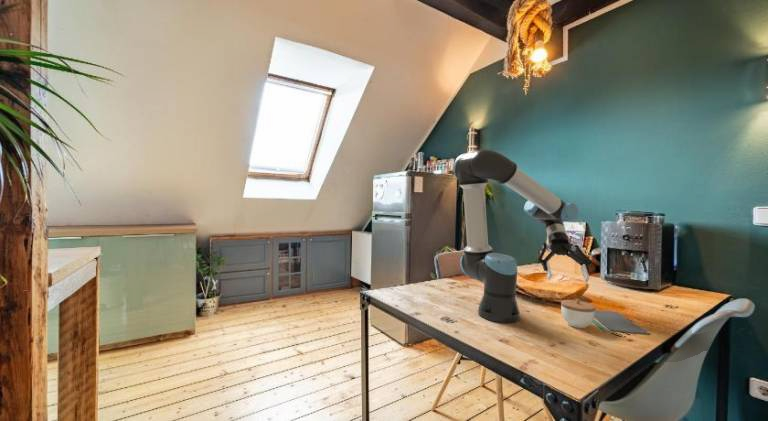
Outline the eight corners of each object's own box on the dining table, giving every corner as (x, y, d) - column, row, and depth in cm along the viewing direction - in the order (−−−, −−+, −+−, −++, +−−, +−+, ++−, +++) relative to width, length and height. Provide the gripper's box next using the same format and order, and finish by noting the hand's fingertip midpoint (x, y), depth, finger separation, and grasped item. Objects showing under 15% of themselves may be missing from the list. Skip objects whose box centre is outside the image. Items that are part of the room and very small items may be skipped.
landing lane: (603, 331, 113) (604, 330, 113) (576, 308, 137) (576, 307, 137) (651, 335, 110) (651, 334, 110) (615, 311, 134) (615, 311, 134)
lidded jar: (591, 322, 121) (593, 298, 121) (596, 333, 111) (598, 306, 111) (559, 317, 126) (560, 293, 125) (561, 327, 116) (562, 301, 115)
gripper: (585, 243, 143) (599, 286, 129) (525, 240, 147) (532, 281, 133) (591, 232, 137) (607, 275, 123) (528, 229, 142) (536, 271, 128)
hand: (568, 278), depth 128 cm, fingers open, 13 cm apart
